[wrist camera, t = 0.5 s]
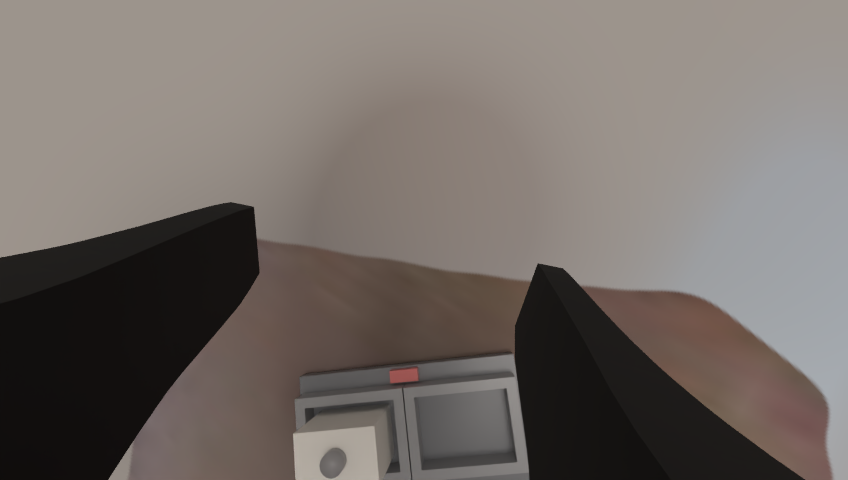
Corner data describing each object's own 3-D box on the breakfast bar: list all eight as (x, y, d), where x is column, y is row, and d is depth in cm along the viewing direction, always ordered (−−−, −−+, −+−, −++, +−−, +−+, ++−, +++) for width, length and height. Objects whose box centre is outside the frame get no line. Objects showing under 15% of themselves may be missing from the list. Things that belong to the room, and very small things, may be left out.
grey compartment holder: (529, 472, 33) (552, 531, 24) (313, 490, 34) (265, 552, 26) (511, 351, 34) (527, 368, 26) (306, 373, 36) (258, 396, 27)
